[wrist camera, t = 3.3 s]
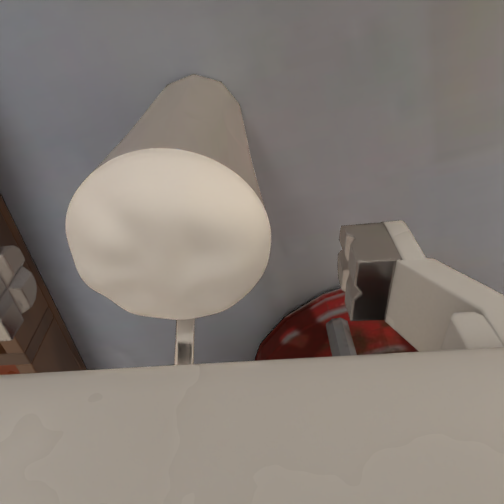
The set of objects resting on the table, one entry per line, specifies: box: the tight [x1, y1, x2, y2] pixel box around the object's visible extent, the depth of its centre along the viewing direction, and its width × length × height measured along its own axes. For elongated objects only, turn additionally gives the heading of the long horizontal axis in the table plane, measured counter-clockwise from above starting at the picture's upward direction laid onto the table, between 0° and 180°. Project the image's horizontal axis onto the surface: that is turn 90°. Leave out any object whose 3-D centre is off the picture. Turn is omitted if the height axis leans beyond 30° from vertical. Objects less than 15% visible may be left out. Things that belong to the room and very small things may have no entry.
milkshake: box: [65, 74, 271, 365], centre depth 12 cm, size 4×5×10 cm
